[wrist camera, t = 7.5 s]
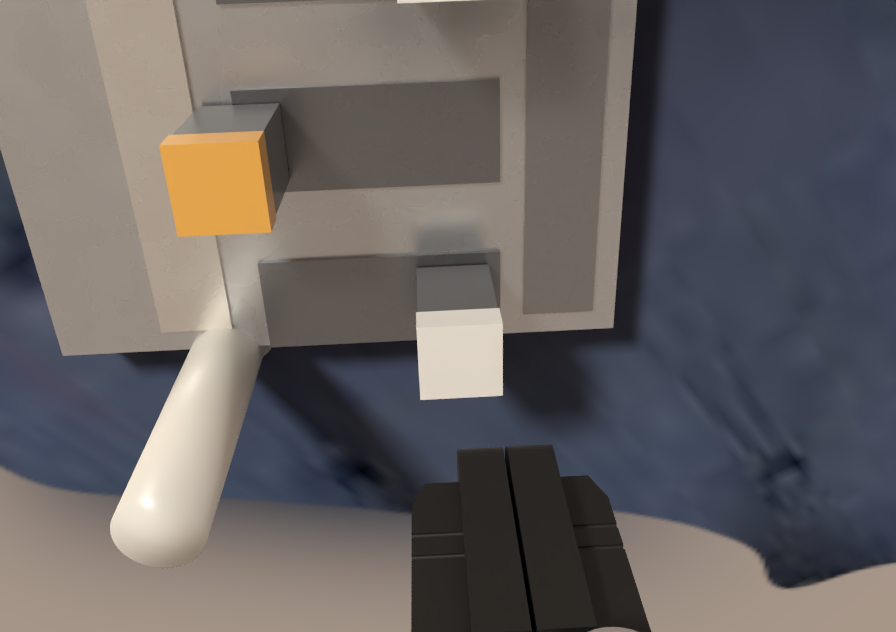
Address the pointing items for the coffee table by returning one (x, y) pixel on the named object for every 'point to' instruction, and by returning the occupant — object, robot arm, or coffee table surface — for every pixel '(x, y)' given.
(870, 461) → the coffee table surface
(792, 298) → the coffee table surface
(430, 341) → the toggle
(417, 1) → the toggle
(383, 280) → the breaker panel
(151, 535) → the post
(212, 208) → the toggle
